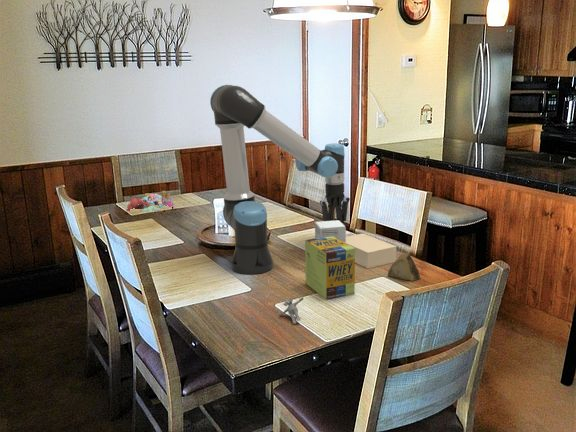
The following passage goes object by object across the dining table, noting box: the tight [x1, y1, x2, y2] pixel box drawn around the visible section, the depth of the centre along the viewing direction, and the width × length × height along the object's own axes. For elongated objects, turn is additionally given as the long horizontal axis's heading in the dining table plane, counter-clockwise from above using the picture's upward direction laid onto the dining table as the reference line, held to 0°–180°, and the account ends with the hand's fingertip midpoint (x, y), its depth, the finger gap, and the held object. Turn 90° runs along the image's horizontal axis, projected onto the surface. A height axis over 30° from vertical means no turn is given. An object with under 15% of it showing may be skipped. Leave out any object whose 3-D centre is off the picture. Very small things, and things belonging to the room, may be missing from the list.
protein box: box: [304, 236, 356, 300], centre depth 181 cm, size 10×15×16 cm
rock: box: [387, 253, 422, 281], centre depth 191 cm, size 10×8×10 cm
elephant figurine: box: [278, 297, 305, 325], centre depth 161 cm, size 9×5×8 cm
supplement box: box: [314, 219, 347, 243], centre depth 198 cm, size 10×9×17 cm
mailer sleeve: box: [346, 233, 397, 270], centre depth 211 cm, size 20×13×6 cm, turn 30°
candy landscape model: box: [125, 190, 175, 212], centre depth 291 cm, size 25×24×9 cm
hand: (334, 239), depth 228 cm, fingers closed on mailer tray, 2 cm apart
